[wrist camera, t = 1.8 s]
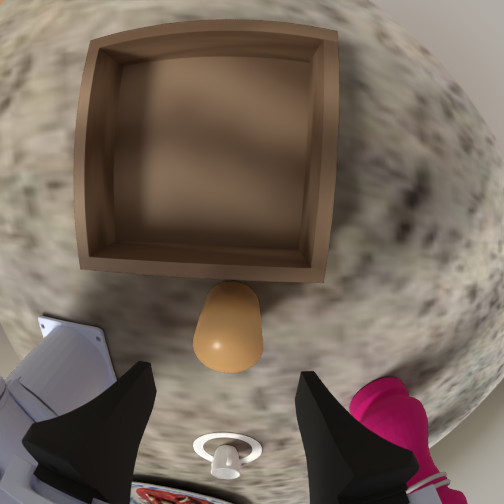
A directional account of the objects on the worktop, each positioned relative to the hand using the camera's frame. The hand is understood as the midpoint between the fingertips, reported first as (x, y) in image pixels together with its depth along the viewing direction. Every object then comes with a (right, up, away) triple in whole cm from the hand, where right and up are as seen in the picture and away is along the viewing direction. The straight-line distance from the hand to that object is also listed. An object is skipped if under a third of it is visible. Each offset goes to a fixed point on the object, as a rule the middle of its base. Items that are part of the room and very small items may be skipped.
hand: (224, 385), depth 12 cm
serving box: (-2, +13, +5) cm, 14 cm away
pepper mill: (+14, -9, +12) cm, 20 cm away
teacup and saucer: (-4, -17, +14) cm, 23 cm away
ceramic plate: (-12, -40, +21) cm, 47 cm away
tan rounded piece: (0, +2, +8) cm, 8 cm away
